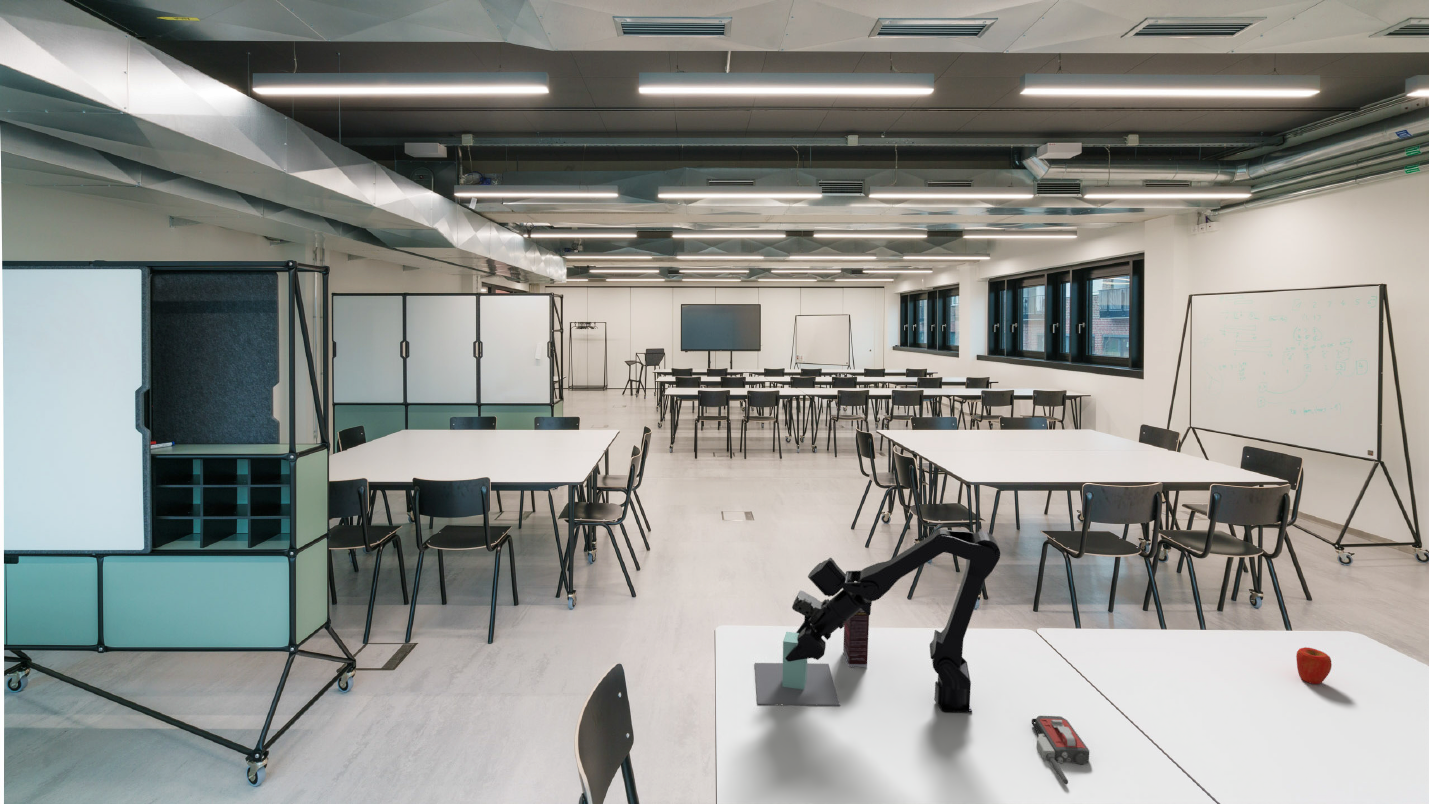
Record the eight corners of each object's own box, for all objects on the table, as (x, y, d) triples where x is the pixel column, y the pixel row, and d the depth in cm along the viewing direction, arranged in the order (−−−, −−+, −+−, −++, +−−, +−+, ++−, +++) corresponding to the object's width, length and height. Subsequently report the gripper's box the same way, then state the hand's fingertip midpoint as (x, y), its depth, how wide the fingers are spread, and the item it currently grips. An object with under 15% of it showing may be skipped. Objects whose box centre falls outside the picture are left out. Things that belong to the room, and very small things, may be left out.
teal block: (806, 678, 168) (807, 634, 167) (804, 689, 164) (805, 643, 162) (785, 675, 170) (786, 631, 168) (782, 686, 165) (783, 641, 163)
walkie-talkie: (1020, 725, 151) (1059, 789, 131) (1022, 705, 150) (1061, 767, 131) (1063, 727, 150) (1109, 791, 131) (1065, 707, 150) (1111, 769, 130)
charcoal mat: (828, 664, 175) (828, 663, 175) (839, 705, 158) (839, 704, 157) (754, 664, 176) (754, 662, 176) (757, 704, 158) (757, 703, 158)
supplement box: (868, 668, 174) (870, 605, 172) (848, 667, 174) (850, 605, 172) (861, 650, 182) (863, 591, 180) (842, 650, 182) (844, 591, 180)
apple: (1334, 684, 166) (1338, 654, 165) (1318, 690, 164) (1321, 659, 163) (1304, 672, 172) (1307, 642, 171) (1287, 676, 170) (1291, 647, 169)
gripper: (818, 568, 171) (772, 607, 175) (809, 599, 153) (757, 642, 157) (851, 603, 170) (804, 642, 175) (845, 638, 152) (793, 680, 157)
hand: (789, 650), depth 166 cm, fingers open, 9 cm apart
